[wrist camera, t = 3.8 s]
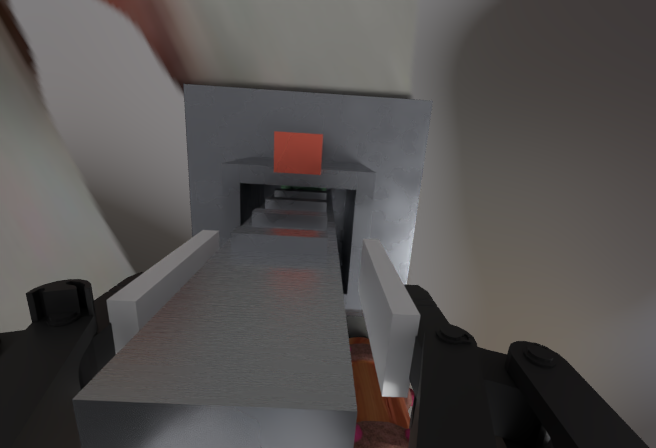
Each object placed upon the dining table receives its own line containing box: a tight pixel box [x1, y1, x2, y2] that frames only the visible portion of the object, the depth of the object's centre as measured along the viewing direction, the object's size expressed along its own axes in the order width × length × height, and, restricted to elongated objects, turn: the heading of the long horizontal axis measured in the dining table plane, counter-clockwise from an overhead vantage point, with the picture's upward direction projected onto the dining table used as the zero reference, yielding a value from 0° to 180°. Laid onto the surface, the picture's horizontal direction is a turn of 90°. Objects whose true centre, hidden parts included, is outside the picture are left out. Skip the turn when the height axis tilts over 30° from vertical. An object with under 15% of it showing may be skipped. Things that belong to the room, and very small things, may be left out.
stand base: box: [183, 84, 433, 317], centre depth 21 cm, size 18×18×9 cm
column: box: [72, 185, 357, 448], centre depth 14 cm, size 4×5×20 cm
